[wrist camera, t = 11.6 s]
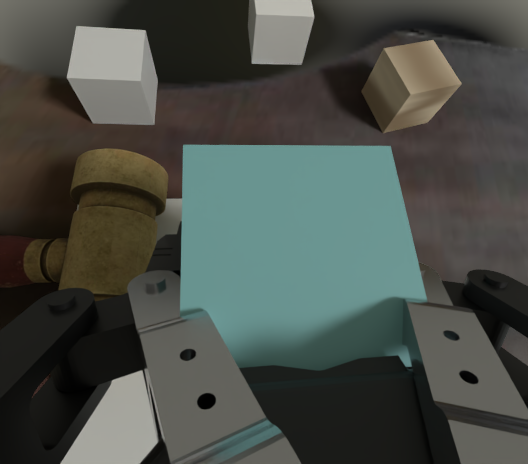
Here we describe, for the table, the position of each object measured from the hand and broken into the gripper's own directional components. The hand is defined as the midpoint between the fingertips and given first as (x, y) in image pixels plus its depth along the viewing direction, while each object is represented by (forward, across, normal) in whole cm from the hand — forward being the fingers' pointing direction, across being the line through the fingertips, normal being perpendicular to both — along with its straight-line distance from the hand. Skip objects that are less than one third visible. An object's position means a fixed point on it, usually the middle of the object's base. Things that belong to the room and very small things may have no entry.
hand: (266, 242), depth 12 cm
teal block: (+2, 0, +4) cm, 5 cm away
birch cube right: (+15, -12, -4) cm, 19 cm away
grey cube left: (+15, +8, -4) cm, 17 cm away
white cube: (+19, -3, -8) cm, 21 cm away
